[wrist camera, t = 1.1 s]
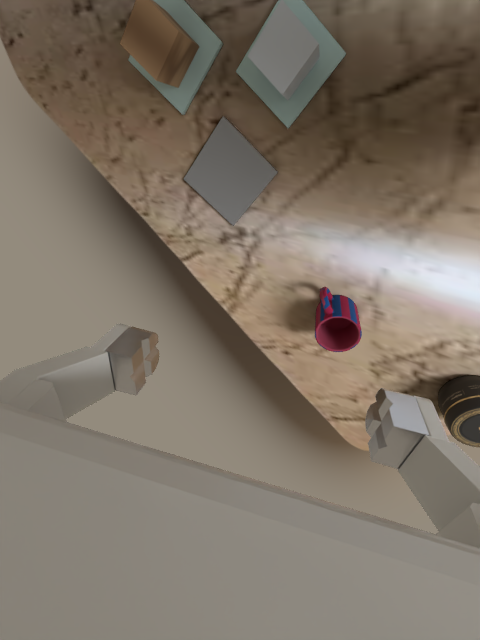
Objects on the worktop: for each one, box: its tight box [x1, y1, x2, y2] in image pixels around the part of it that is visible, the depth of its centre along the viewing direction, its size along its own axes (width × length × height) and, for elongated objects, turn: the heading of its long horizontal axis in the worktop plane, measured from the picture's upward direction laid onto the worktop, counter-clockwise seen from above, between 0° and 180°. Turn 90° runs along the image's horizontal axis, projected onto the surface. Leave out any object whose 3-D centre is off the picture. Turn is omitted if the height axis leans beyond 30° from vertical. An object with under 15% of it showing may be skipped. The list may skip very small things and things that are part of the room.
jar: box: [438, 376, 480, 447], centre depth 48 cm, size 10×10×8 cm
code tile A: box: [128, 0, 223, 115], centre depth 36 cm, size 9×9×1 cm
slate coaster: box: [184, 116, 278, 226], centre depth 42 cm, size 10×10×1 cm
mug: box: [315, 287, 361, 352], centre depth 46 cm, size 7×10×7 cm
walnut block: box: [120, 0, 200, 88], centre depth 33 cm, size 5×5×6 cm
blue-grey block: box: [248, 0, 320, 100], centre depth 31 cm, size 5×5×6 cm
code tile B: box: [236, 0, 346, 129], centre depth 34 cm, size 9×9×1 cm
